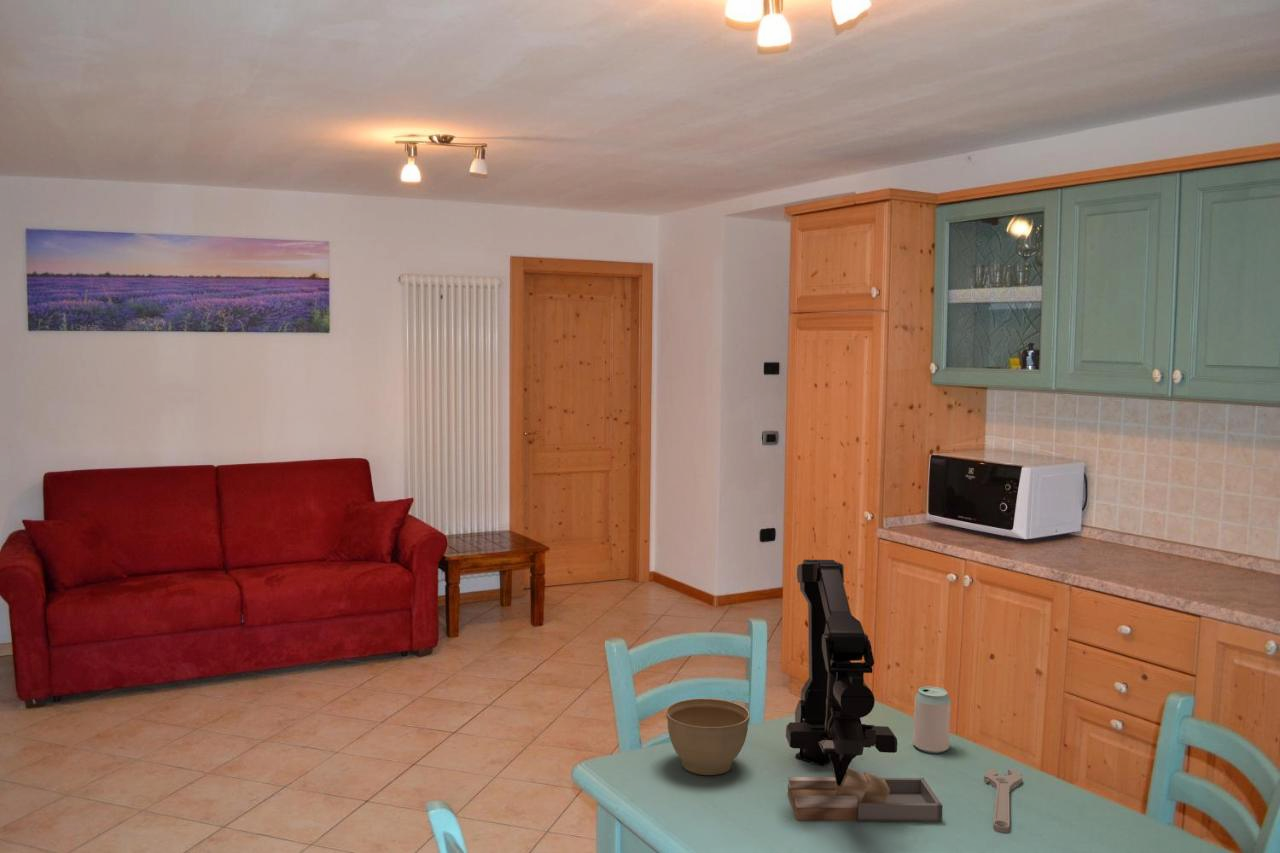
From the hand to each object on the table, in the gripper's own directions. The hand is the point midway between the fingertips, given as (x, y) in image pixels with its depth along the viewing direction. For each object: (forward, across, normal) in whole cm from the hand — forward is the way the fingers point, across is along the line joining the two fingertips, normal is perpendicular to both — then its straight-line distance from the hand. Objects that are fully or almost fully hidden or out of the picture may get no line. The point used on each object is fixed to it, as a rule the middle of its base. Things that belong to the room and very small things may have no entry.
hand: (838, 784), depth 176 cm
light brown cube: (+3, +6, 0) cm, 6 cm away
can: (+3, +25, +28) cm, 37 cm away
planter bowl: (+5, -22, +17) cm, 28 cm away
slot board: (+4, -3, 0) cm, 5 cm away
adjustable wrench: (+4, +30, +4) cm, 31 cm away
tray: (+4, +10, +1) cm, 11 cm away
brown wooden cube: (+2, +2, 0) cm, 2 cm away
